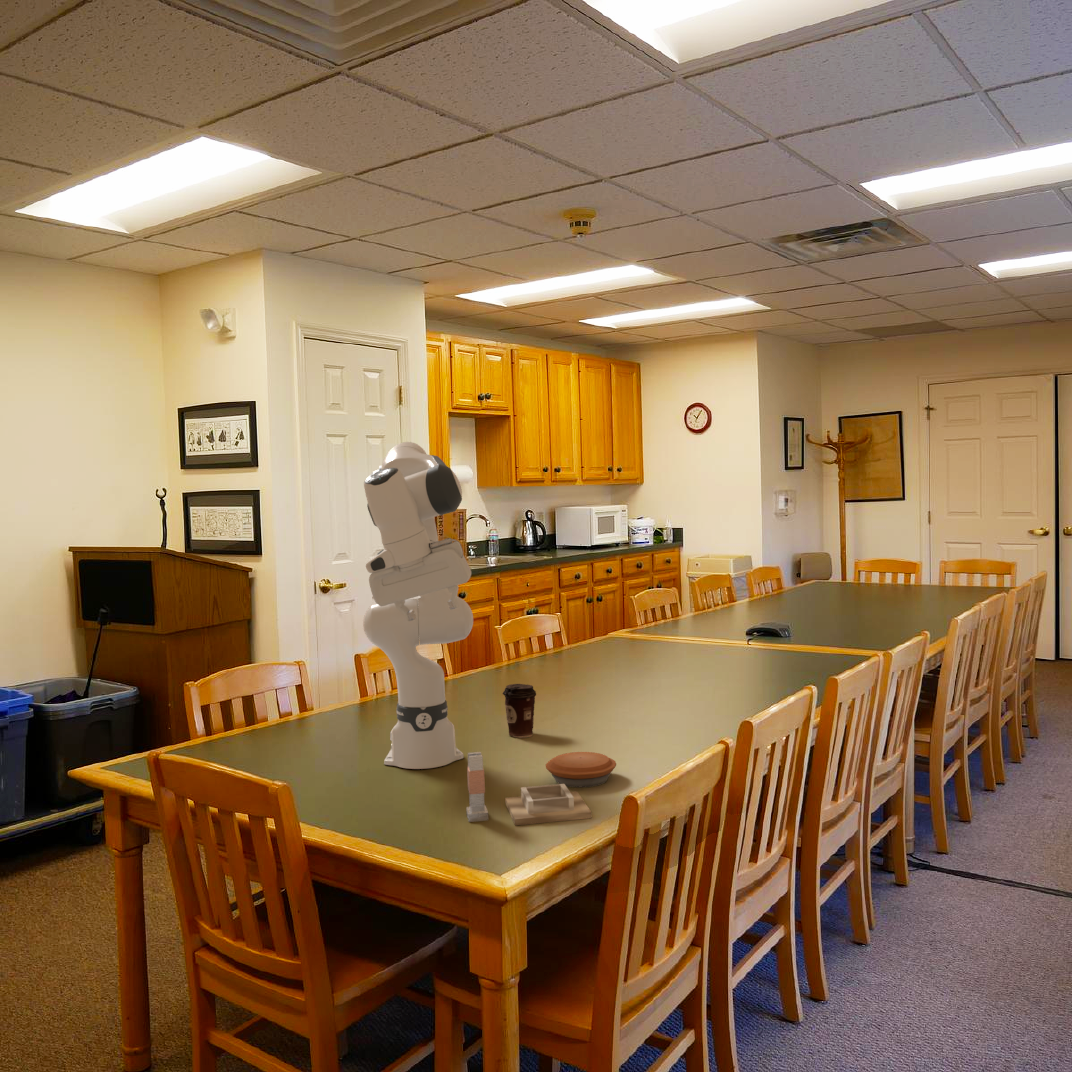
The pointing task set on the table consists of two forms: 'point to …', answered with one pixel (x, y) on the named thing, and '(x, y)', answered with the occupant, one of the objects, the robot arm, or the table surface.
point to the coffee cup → (520, 709)
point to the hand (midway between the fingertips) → (433, 613)
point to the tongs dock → (546, 805)
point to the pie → (581, 768)
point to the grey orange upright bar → (476, 788)
